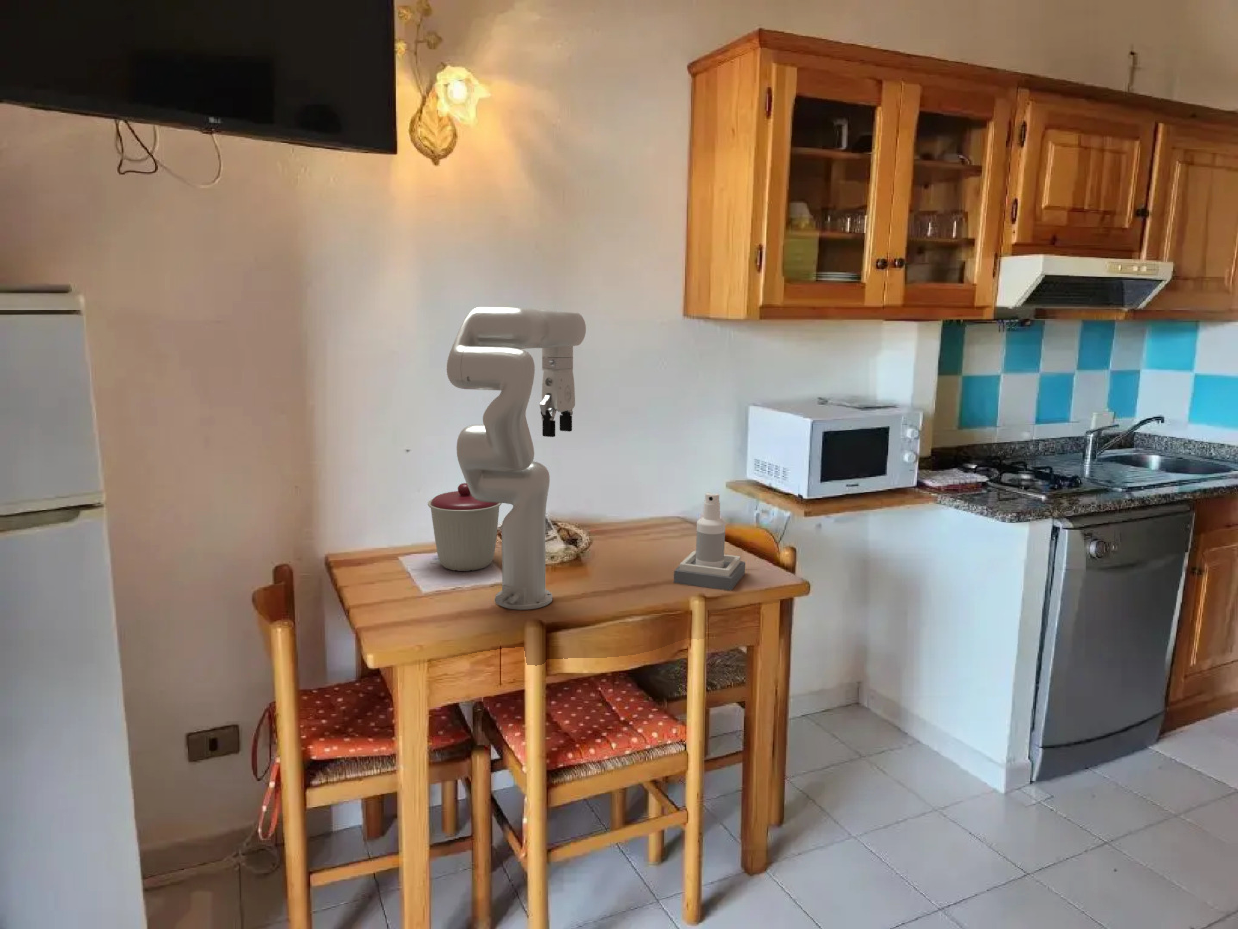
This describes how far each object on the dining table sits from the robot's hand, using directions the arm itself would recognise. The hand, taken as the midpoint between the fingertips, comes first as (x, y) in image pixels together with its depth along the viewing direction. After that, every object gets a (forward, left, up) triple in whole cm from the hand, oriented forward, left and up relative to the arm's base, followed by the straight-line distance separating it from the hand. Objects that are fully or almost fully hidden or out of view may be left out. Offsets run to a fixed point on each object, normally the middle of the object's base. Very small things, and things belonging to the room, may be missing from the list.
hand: (557, 433), depth 210 cm
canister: (-11, +20, -34) cm, 41 cm away
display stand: (+4, -39, -33) cm, 51 cm away
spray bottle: (+4, -39, -31) cm, 50 cm away
